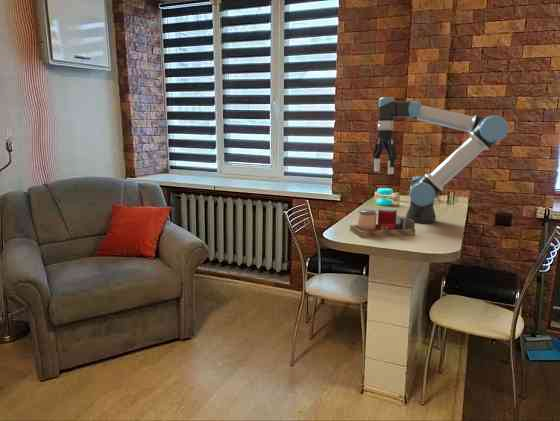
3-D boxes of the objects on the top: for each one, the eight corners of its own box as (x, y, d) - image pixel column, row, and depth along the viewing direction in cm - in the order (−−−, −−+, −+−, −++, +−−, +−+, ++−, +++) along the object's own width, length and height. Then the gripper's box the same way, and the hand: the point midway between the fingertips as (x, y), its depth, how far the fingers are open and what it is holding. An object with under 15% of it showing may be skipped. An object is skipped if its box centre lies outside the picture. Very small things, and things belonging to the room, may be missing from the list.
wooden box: (401, 230, 205) (402, 216, 204) (414, 237, 194) (415, 221, 192) (349, 232, 200) (350, 217, 199) (360, 239, 188) (360, 223, 187)
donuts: (386, 190, 266) (373, 188, 274) (385, 206, 268) (373, 204, 276) (396, 189, 273) (383, 187, 280) (395, 204, 274) (383, 202, 282)
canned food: (398, 234, 194) (400, 209, 192) (382, 234, 192) (383, 210, 190) (389, 230, 202) (391, 206, 199) (374, 230, 199) (375, 207, 197)
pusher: (400, 228, 204) (401, 214, 202) (410, 233, 194) (411, 218, 193) (392, 228, 203) (393, 214, 201) (402, 233, 193) (403, 218, 192)
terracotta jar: (371, 230, 200) (372, 209, 198) (378, 234, 192) (379, 212, 190) (354, 231, 198) (355, 209, 196) (361, 235, 190) (362, 212, 188)
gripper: (366, 129, 224) (365, 170, 228) (391, 129, 201) (389, 175, 205) (379, 129, 227) (377, 170, 230) (406, 129, 203) (403, 174, 207)
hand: (383, 172), depth 218 cm, fingers open, 13 cm apart
